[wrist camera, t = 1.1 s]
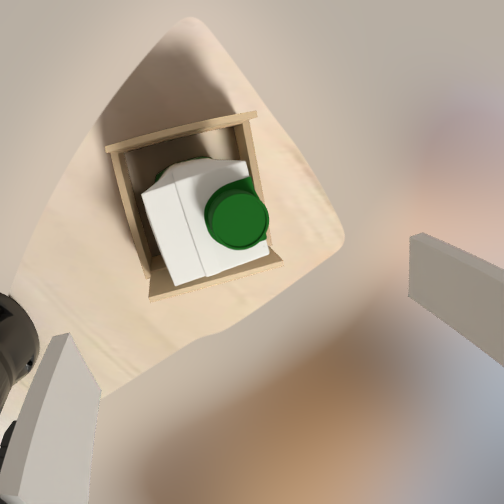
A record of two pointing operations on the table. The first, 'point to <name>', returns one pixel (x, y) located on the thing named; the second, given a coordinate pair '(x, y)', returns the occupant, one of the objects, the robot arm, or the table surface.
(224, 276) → the wooden tray box
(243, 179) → the soya milk
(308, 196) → the table surface
